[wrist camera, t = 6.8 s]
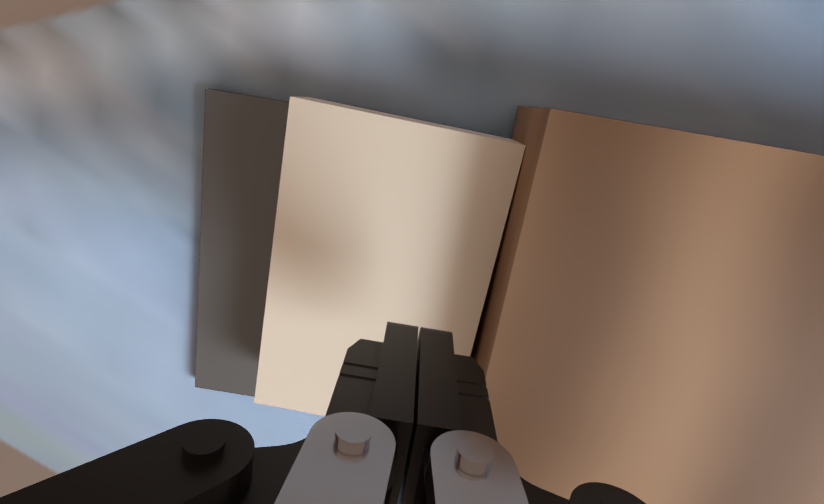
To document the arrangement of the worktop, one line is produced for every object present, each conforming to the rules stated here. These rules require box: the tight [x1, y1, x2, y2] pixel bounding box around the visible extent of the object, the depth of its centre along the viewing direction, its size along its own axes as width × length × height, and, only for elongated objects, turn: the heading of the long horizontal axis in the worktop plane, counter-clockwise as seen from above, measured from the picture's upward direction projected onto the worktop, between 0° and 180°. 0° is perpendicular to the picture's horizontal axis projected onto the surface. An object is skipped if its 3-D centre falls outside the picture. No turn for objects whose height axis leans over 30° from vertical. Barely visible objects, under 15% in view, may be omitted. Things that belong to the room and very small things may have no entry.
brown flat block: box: [470, 106, 824, 504], centre depth 14 cm, size 16×12×4 cm
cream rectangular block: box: [254, 96, 526, 416], centre depth 14 cm, size 6×9×2 cm, turn 169°
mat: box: [195, 89, 289, 397], centre depth 16 cm, size 8×10×1 cm
